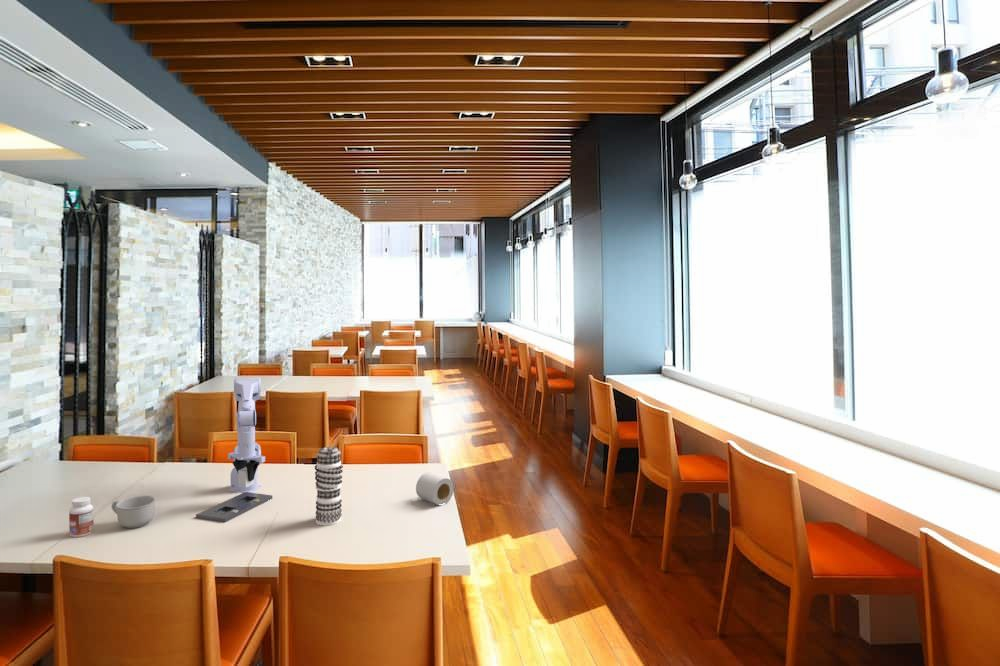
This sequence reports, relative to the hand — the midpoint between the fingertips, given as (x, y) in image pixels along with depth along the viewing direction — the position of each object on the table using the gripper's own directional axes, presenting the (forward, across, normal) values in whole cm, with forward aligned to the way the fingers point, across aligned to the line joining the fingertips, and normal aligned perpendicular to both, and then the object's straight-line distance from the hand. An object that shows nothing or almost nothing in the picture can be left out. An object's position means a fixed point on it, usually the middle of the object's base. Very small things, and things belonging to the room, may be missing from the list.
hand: (246, 479), depth 209 cm
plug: (+2, 0, 0) cm, 2 cm away
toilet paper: (+9, +64, +24) cm, 69 cm away
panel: (+9, 0, -6) cm, 10 cm away
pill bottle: (+9, -30, -39) cm, 50 cm away
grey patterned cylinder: (+9, +37, -5) cm, 38 cm away
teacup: (+9, -22, -28) cm, 36 cm away
